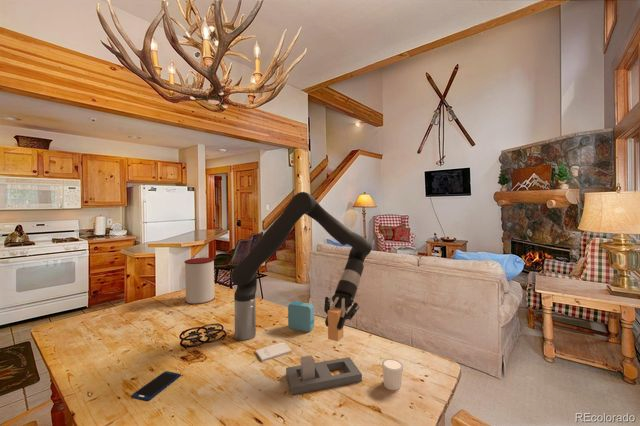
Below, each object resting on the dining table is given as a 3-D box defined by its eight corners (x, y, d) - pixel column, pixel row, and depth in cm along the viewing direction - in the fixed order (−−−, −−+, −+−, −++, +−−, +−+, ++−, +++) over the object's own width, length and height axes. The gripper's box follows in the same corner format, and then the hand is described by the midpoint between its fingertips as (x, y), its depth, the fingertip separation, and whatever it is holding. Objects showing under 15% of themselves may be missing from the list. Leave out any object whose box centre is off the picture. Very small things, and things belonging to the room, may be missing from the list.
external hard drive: (291, 353, 114) (262, 363, 108) (283, 345, 121) (255, 353, 115) (291, 350, 114) (262, 359, 108) (283, 341, 121) (255, 349, 115)
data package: (314, 328, 136) (314, 304, 135) (310, 332, 132) (310, 307, 131) (292, 324, 141) (292, 300, 140) (287, 328, 136) (287, 303, 136)
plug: (333, 334, 103) (333, 307, 103) (343, 336, 101) (343, 309, 101) (328, 338, 100) (327, 310, 99) (337, 341, 98) (337, 313, 97)
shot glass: (379, 378, 97) (379, 358, 97) (398, 377, 97) (398, 357, 97) (385, 392, 90) (385, 370, 90) (406, 390, 91) (406, 369, 90)
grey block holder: (291, 395, 89) (291, 371, 89) (286, 374, 99) (285, 353, 99) (361, 381, 96) (361, 359, 95) (349, 363, 106) (349, 343, 106)
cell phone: (129, 398, 88) (129, 395, 88) (165, 372, 102) (165, 370, 102) (148, 402, 86) (148, 400, 86) (182, 375, 100) (182, 373, 100)
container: (178, 303, 170) (177, 262, 169) (196, 294, 187) (195, 257, 186) (205, 305, 167) (204, 263, 166) (220, 295, 184) (219, 257, 183)
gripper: (328, 276, 110) (311, 318, 100) (362, 281, 102) (347, 327, 92) (335, 286, 114) (320, 327, 105) (368, 292, 107) (354, 336, 97)
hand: (332, 327), depth 99 cm, fingers closed on plug, 4 cm apart
